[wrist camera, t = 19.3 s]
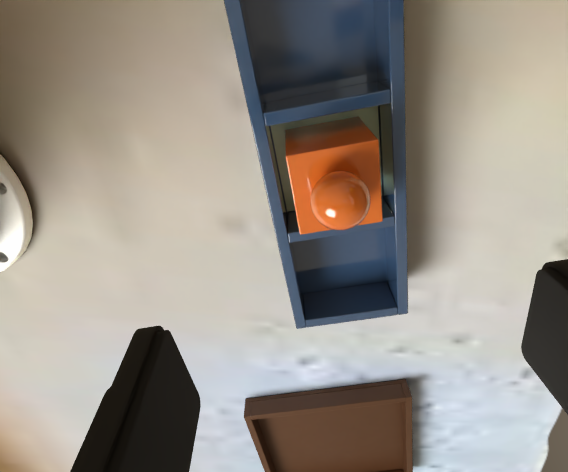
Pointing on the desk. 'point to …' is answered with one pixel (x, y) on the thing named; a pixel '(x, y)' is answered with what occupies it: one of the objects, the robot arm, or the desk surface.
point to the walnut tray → (334, 429)
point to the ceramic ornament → (334, 175)
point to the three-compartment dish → (324, 108)
